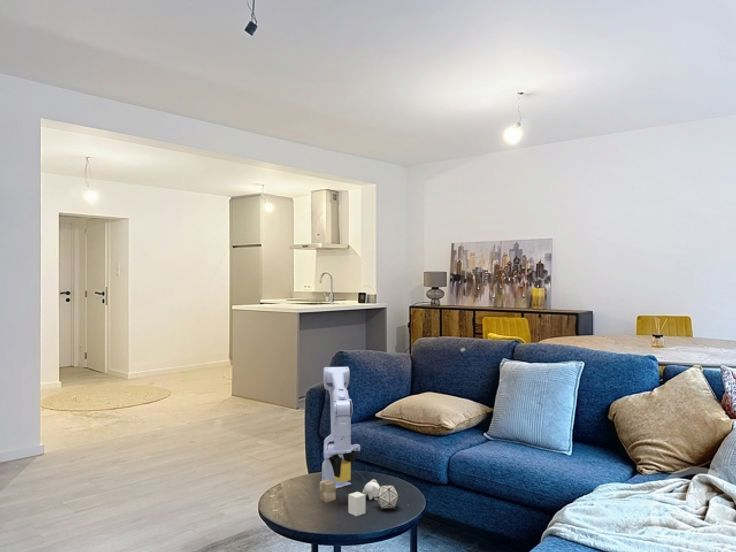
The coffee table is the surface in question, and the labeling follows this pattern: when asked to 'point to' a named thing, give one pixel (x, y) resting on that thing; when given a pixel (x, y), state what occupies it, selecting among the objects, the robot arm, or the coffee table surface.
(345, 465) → the mustard bar
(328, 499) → the birch bar
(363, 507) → the off-white bar
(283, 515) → the coffee table surface
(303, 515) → the coffee table surface
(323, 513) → the coffee table surface
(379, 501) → the game die
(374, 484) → the elephant figurine
